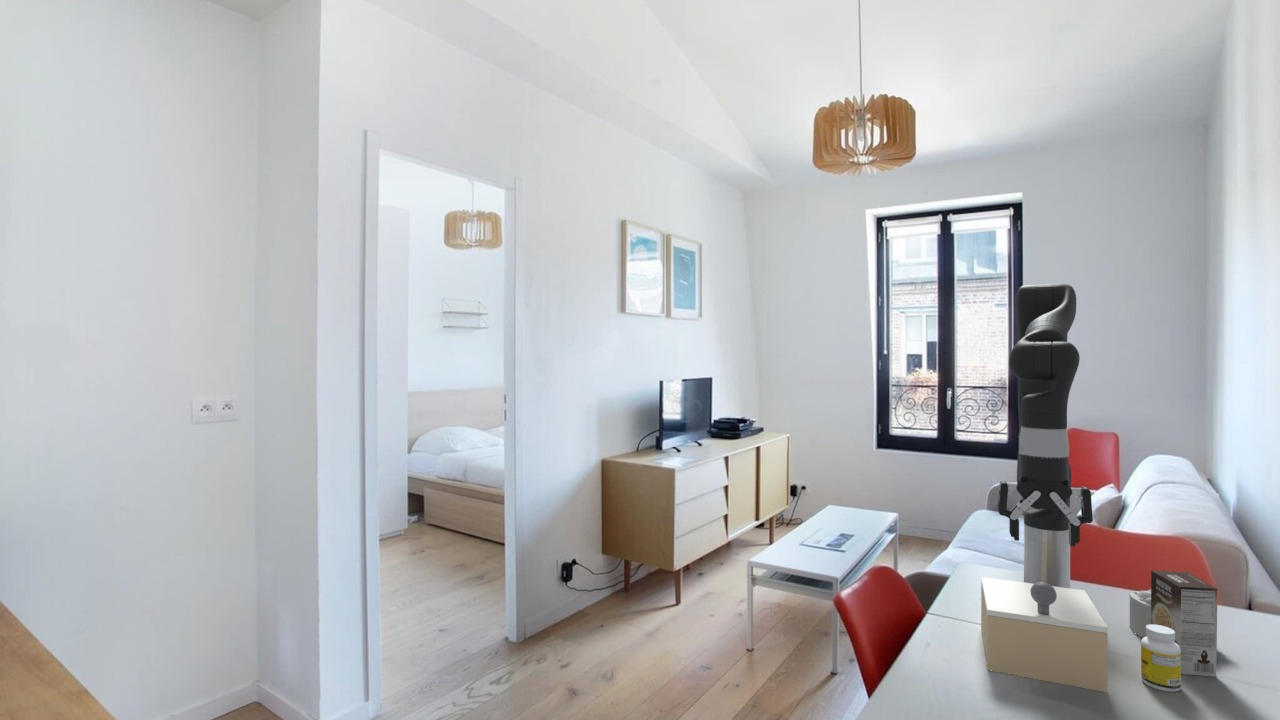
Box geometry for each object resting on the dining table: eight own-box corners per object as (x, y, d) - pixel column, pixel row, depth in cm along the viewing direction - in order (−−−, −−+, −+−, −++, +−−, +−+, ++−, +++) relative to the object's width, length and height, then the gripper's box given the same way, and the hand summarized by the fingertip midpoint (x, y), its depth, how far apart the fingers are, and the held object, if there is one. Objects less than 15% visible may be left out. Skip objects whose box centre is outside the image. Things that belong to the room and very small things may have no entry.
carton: (981, 629, 133) (981, 582, 133) (1084, 646, 126) (1084, 595, 125) (987, 670, 116) (987, 615, 116) (1107, 692, 108) (1107, 633, 108)
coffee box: (1148, 651, 123) (1148, 568, 123) (1186, 654, 122) (1186, 571, 122) (1178, 674, 114) (1178, 585, 114) (1219, 678, 113) (1219, 588, 113)
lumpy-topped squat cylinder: (1186, 655, 122) (1186, 610, 122) (1115, 628, 134) (1115, 587, 134) (1220, 647, 125) (1221, 603, 125) (1148, 621, 137) (1148, 581, 137)
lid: (981, 581, 133) (981, 550, 133) (1084, 595, 125) (1084, 562, 125) (987, 615, 116) (987, 579, 116) (1107, 633, 108) (1107, 595, 108)
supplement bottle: (1141, 673, 115) (1141, 619, 115) (1180, 683, 111) (1180, 627, 111) (1140, 685, 110) (1140, 629, 110) (1181, 696, 107) (1181, 638, 107)
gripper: (1086, 452, 115) (1086, 542, 115) (996, 447, 121) (996, 532, 121) (1096, 458, 108) (1096, 553, 108) (1000, 452, 114) (1000, 543, 114)
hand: (1043, 542), depth 114 cm, fingers open, 8 cm apart
